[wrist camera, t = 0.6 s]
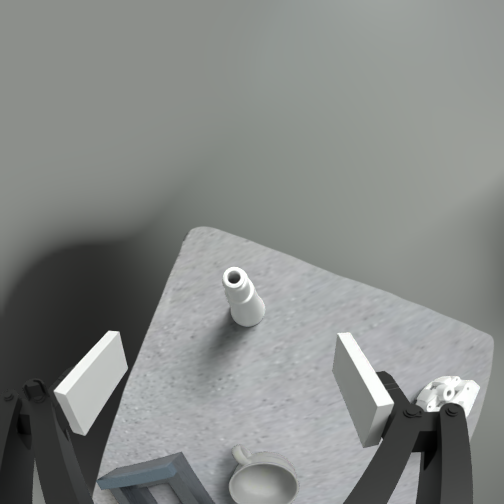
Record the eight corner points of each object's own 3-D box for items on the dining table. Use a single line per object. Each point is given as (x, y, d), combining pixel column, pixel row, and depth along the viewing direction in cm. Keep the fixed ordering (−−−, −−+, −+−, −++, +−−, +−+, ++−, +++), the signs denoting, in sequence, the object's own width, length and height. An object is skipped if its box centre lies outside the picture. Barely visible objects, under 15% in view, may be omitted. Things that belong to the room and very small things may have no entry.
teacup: (303, 483, 38) (308, 502, 30) (247, 500, 37) (243, 520, 29) (276, 423, 43) (277, 436, 35) (218, 442, 42) (209, 456, 34)
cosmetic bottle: (257, 332, 48) (249, 315, 28) (225, 318, 49) (195, 292, 29) (270, 300, 50) (272, 261, 30) (238, 287, 51) (219, 241, 31)
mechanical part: (421, 443, 38) (452, 457, 27) (398, 402, 42) (429, 411, 31) (460, 406, 40) (495, 411, 28) (439, 364, 43) (475, 363, 32)
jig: (222, 513, 36) (215, 535, 28) (155, 526, 34) (141, 544, 26) (181, 451, 41) (166, 466, 33) (116, 468, 39) (95, 480, 31)
